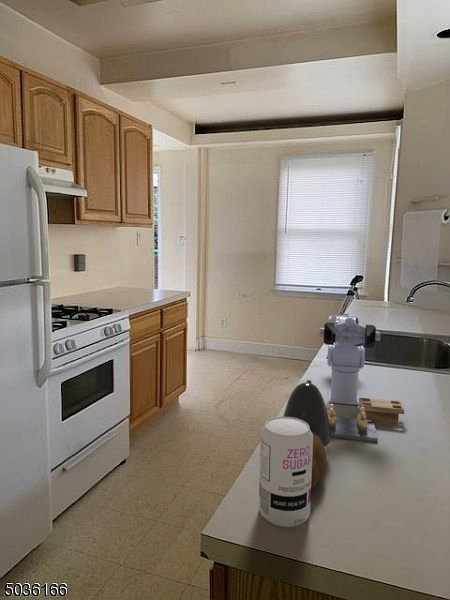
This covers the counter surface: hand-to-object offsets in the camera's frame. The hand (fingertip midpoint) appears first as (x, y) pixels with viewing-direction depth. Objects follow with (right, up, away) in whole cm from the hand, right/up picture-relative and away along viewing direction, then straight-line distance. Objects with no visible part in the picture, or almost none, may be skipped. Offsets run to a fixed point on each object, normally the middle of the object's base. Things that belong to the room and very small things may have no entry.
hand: (351, 338), depth 101 cm
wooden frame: (+10, -18, +7) cm, 22 cm away
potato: (-15, -25, -20) cm, 35 cm away
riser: (+10, -21, +8) cm, 24 cm away
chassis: (-1, -22, +2) cm, 22 cm away
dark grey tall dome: (-13, -23, -10) cm, 28 cm away
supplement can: (-20, -26, -30) cm, 44 cm away
